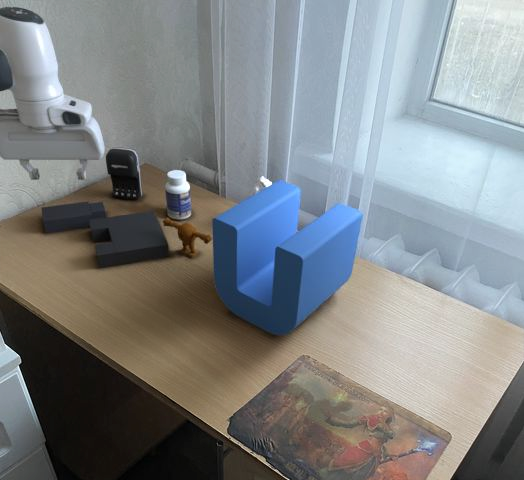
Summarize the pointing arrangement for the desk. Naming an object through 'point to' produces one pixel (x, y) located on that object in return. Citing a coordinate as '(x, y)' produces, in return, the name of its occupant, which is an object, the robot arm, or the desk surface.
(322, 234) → the block
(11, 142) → the robot arm
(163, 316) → the desk surface
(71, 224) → the charcoal pad
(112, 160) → the battery charger
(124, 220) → the black pad
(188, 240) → the toy figurine
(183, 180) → the pill bottle
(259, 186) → the white creature statuette
